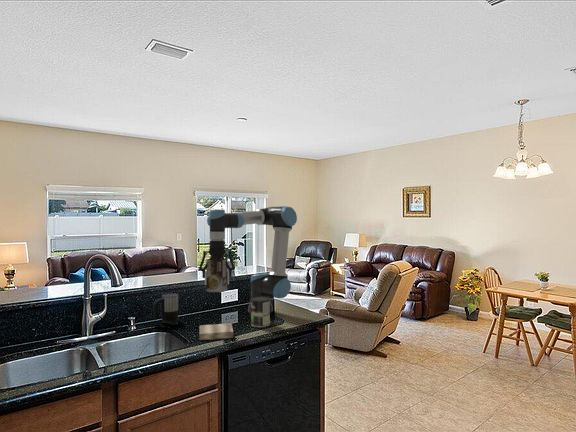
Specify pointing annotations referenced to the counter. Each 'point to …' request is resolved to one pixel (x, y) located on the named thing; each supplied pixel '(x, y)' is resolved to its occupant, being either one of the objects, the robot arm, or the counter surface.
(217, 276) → the coffee box
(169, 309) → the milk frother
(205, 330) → the birch base
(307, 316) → the counter surface
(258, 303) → the coffee can
